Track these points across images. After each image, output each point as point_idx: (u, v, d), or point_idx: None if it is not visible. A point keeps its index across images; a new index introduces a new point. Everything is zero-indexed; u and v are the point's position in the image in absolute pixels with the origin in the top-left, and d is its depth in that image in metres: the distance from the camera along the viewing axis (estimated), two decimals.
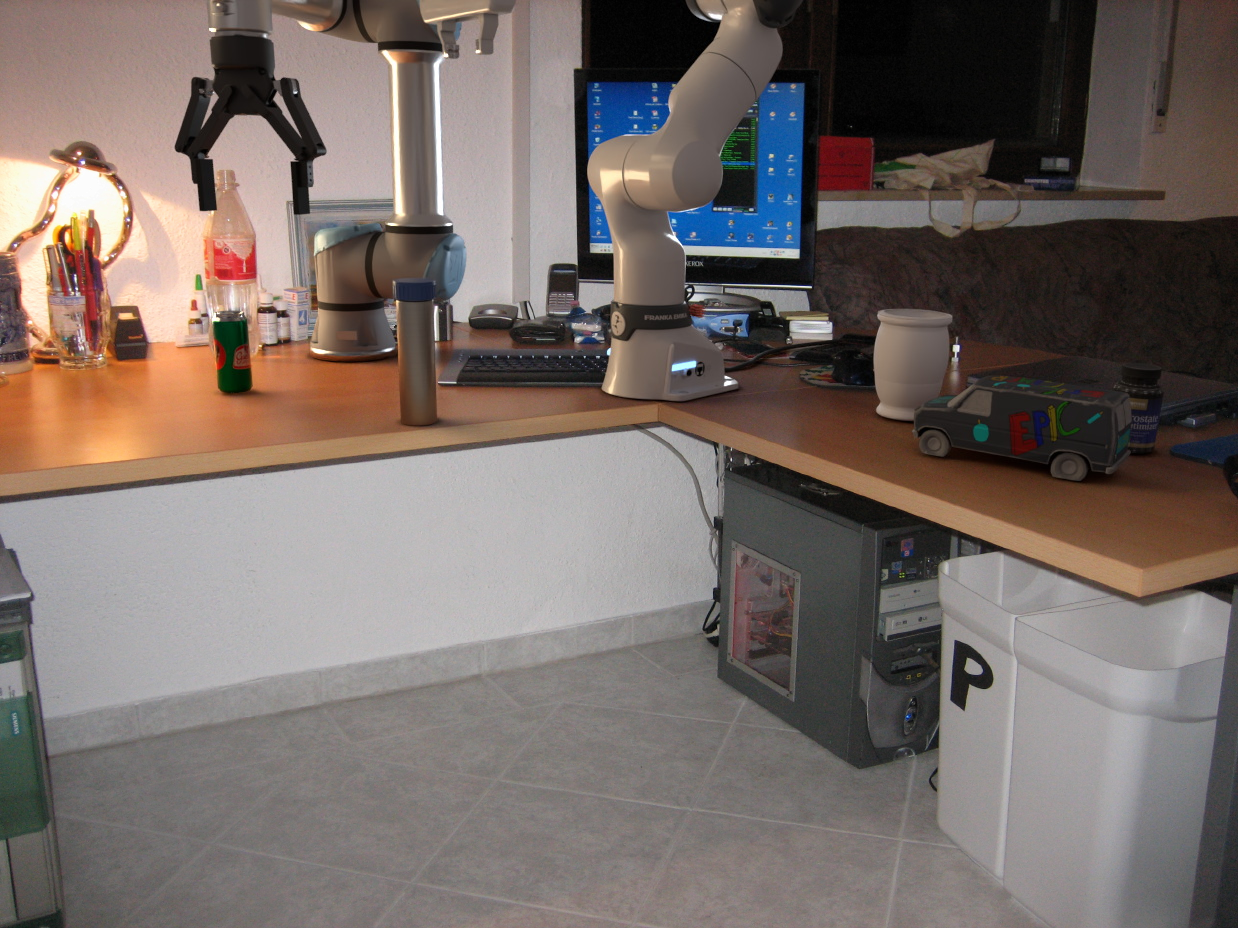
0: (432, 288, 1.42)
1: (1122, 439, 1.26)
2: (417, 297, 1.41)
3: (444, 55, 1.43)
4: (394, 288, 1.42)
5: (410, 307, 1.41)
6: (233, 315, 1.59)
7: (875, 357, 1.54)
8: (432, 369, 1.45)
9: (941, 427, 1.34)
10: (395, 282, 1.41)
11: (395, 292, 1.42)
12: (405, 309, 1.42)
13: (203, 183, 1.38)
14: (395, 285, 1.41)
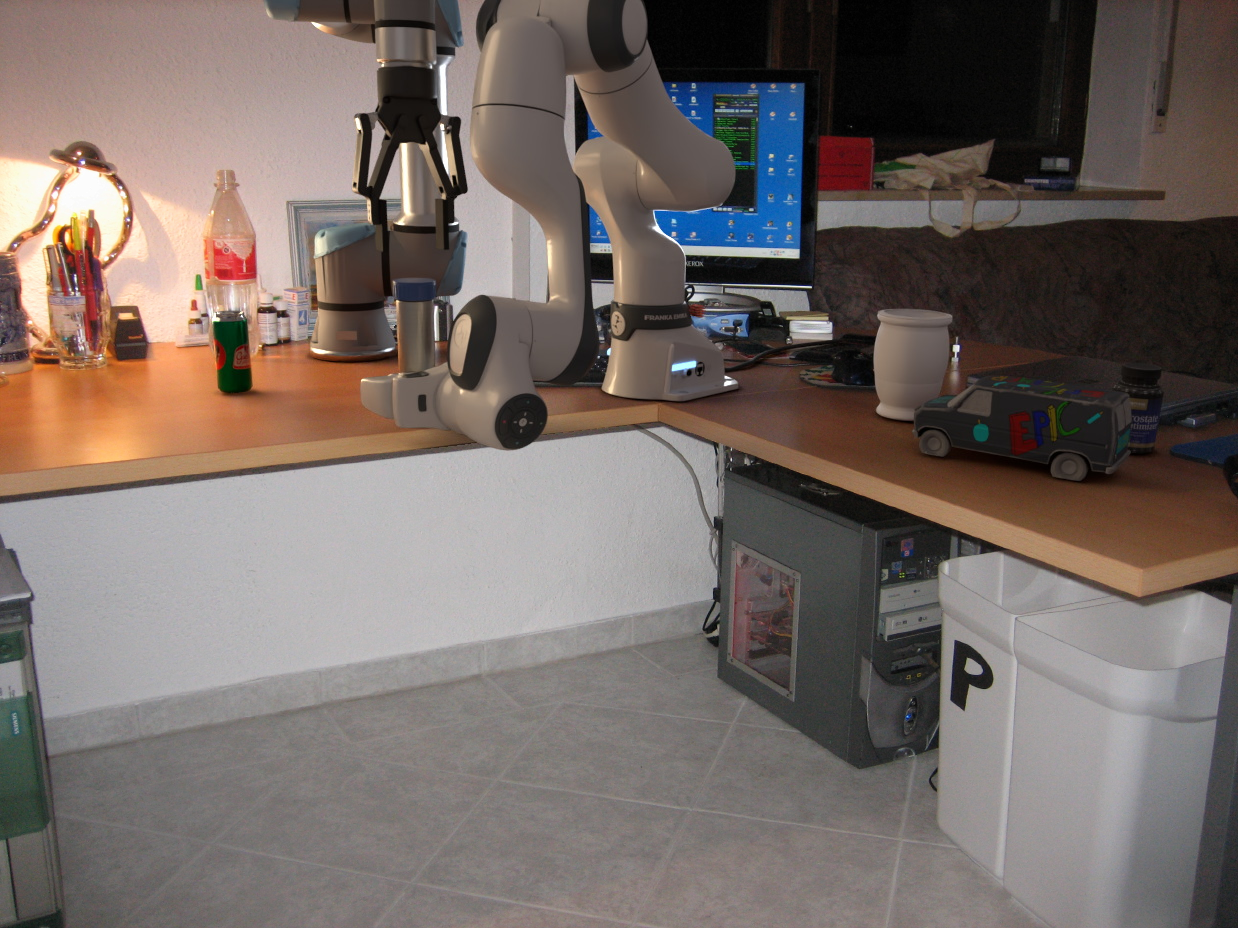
0: (432, 288, 1.42)
1: (1122, 439, 1.26)
2: (417, 297, 1.41)
3: None
4: (394, 288, 1.42)
5: (410, 307, 1.41)
6: (233, 315, 1.59)
7: (875, 357, 1.54)
8: None
9: (941, 427, 1.34)
10: (395, 282, 1.41)
11: (395, 292, 1.42)
12: (405, 309, 1.42)
13: (436, 222, 1.43)
14: (395, 285, 1.41)
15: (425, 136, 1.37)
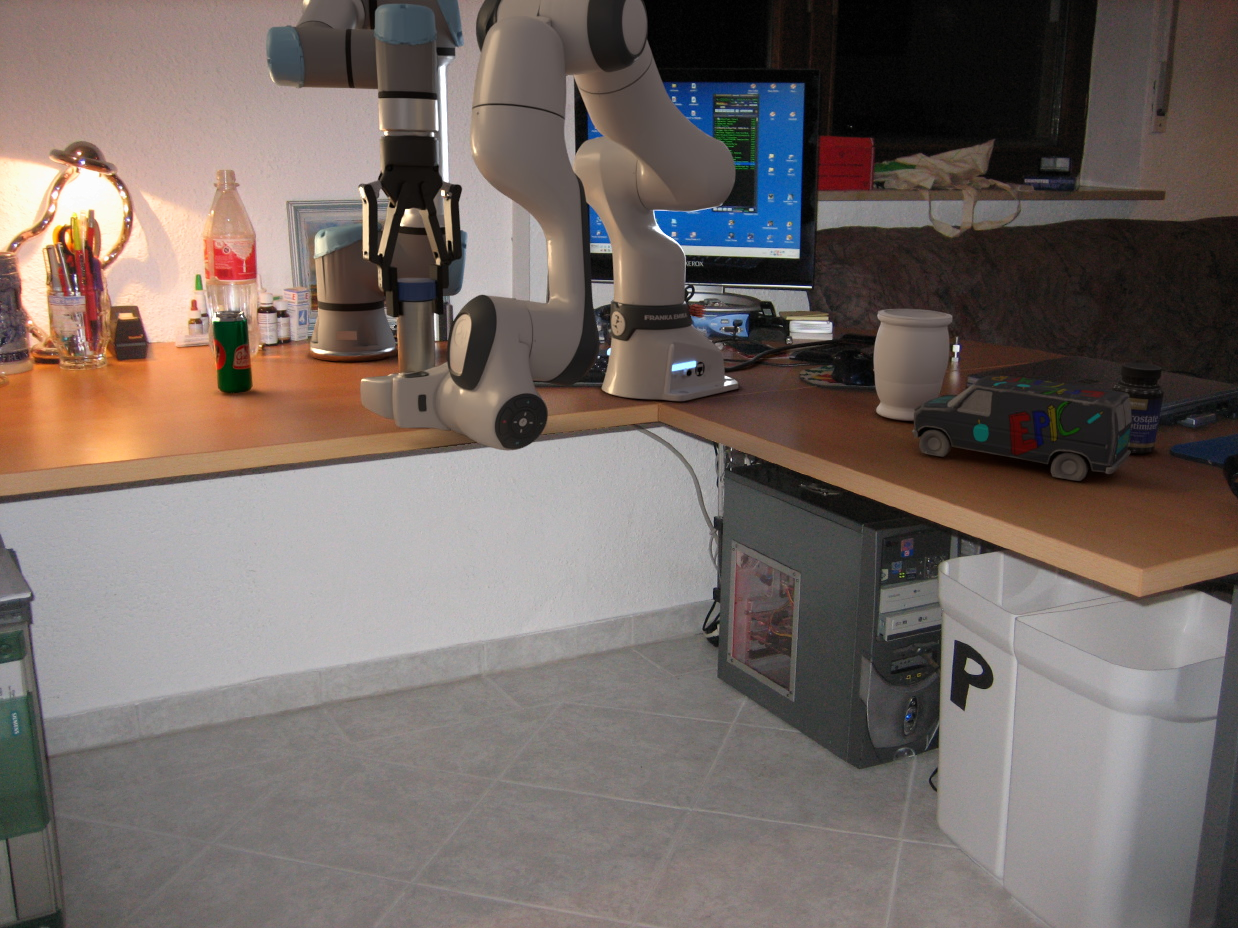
0: (432, 288, 1.42)
1: (1122, 439, 1.26)
2: (417, 297, 1.41)
3: None
4: None
5: (410, 307, 1.41)
6: (233, 315, 1.59)
7: (875, 357, 1.54)
8: None
9: (941, 427, 1.34)
10: None
11: None
12: (405, 309, 1.42)
13: None
14: None
15: (425, 202, 1.39)
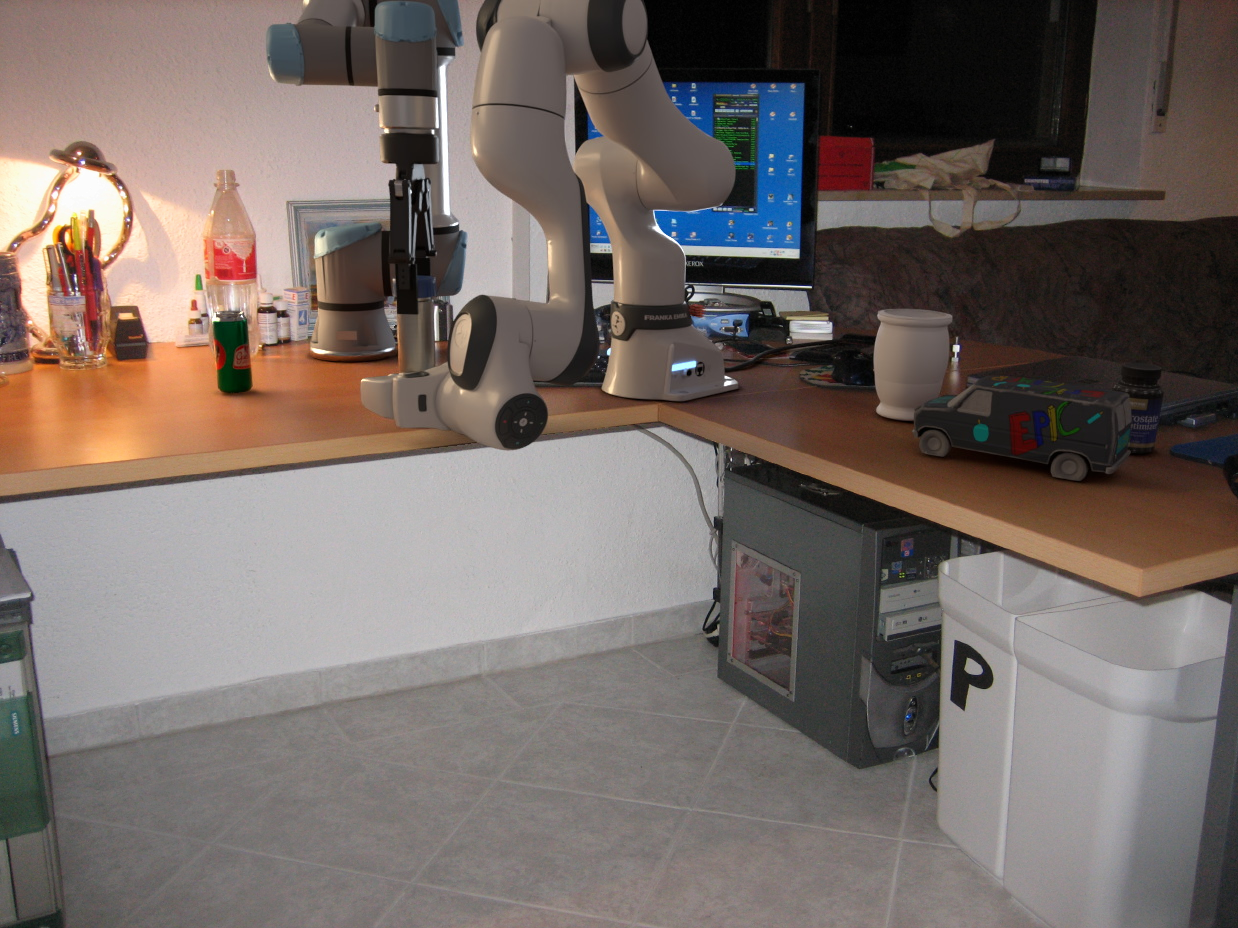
0: None
1: (1122, 439, 1.26)
2: None
3: None
4: (423, 287, 1.41)
5: None
6: (233, 315, 1.59)
7: (875, 357, 1.54)
8: None
9: (941, 427, 1.34)
10: (425, 280, 1.41)
11: (425, 290, 1.41)
12: None
13: None
14: (425, 283, 1.41)
15: (426, 199, 1.41)
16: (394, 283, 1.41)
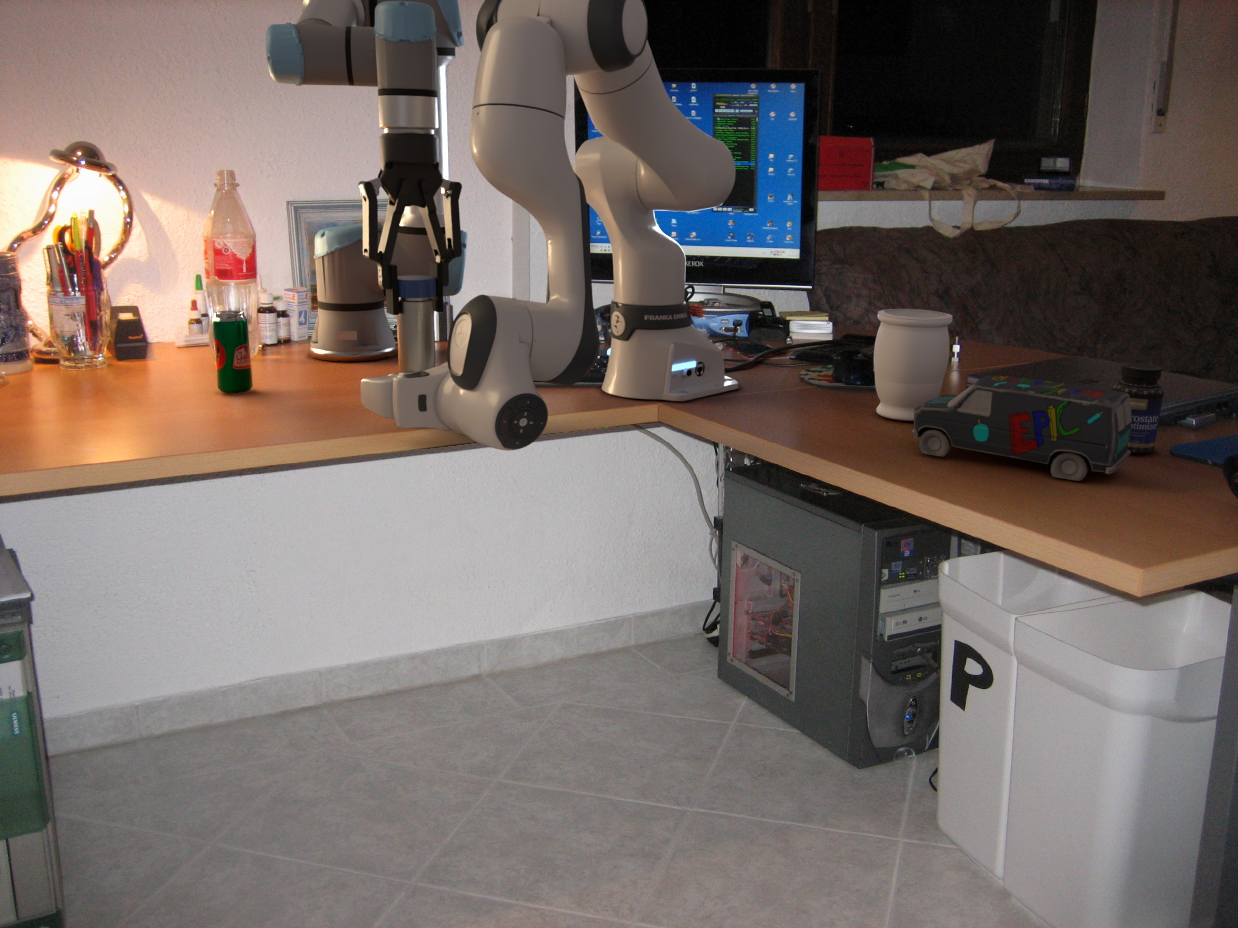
0: None
1: (1122, 439, 1.26)
2: None
3: None
4: (423, 287, 1.41)
5: (410, 307, 1.41)
6: (233, 315, 1.59)
7: (875, 357, 1.54)
8: None
9: (941, 427, 1.34)
10: (425, 280, 1.41)
11: (425, 290, 1.41)
12: (405, 309, 1.42)
13: None
14: (425, 283, 1.41)
15: (425, 200, 1.39)
16: None
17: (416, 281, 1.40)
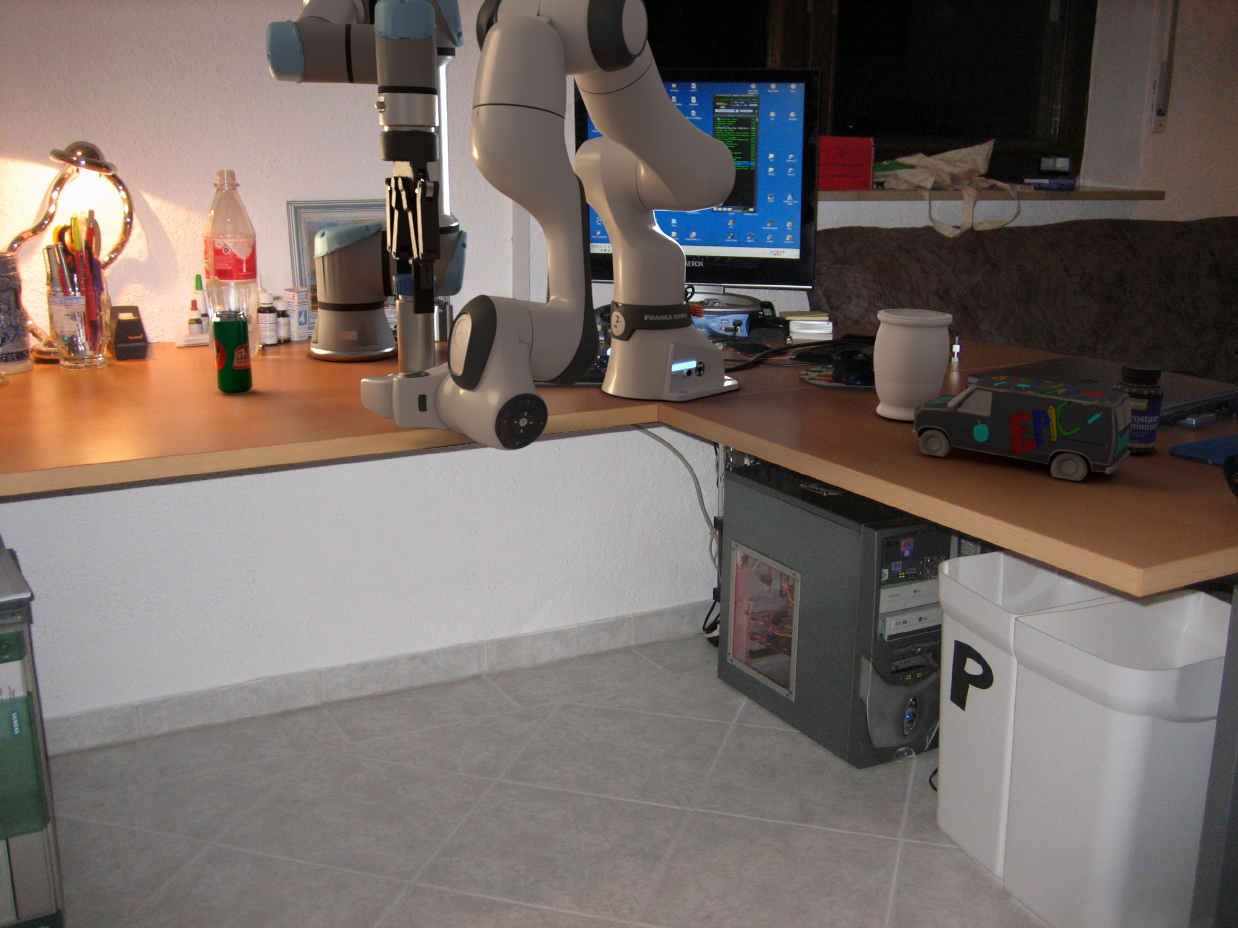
0: None
1: (1122, 439, 1.26)
2: None
3: None
4: None
5: (410, 307, 1.41)
6: (233, 315, 1.59)
7: (875, 357, 1.54)
8: None
9: (941, 427, 1.34)
10: None
11: None
12: (405, 309, 1.42)
13: None
14: None
15: None
16: None
17: (435, 276, 1.43)
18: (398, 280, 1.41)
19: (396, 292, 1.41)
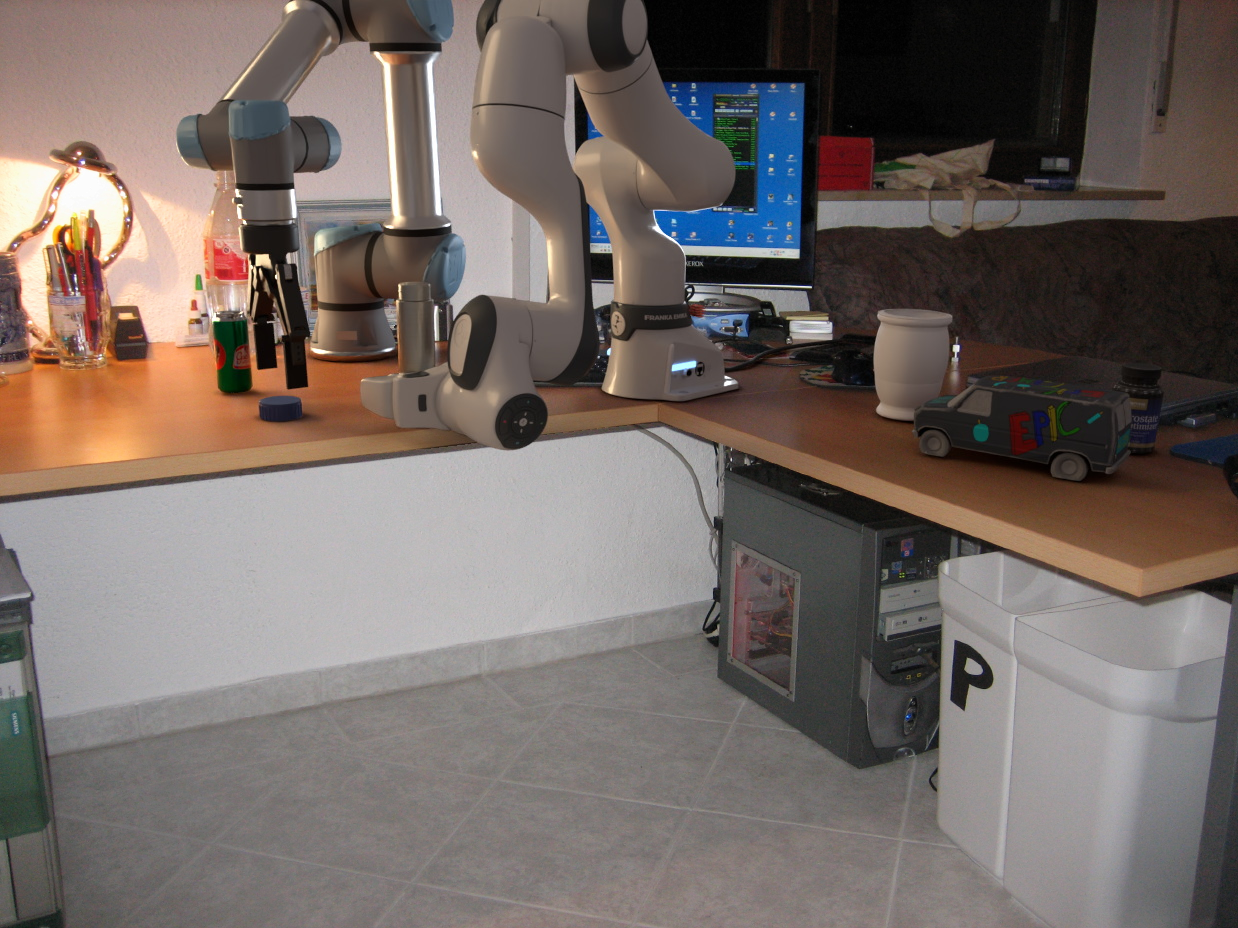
0: None
1: (1122, 439, 1.26)
2: None
3: None
4: None
5: (410, 307, 1.41)
6: (233, 315, 1.59)
7: (875, 357, 1.54)
8: None
9: (941, 427, 1.34)
10: (298, 398, 1.51)
11: None
12: (405, 309, 1.42)
13: (258, 345, 1.52)
14: None
15: None
16: (287, 408, 1.47)
17: None
18: (263, 406, 1.47)
19: (262, 417, 1.47)
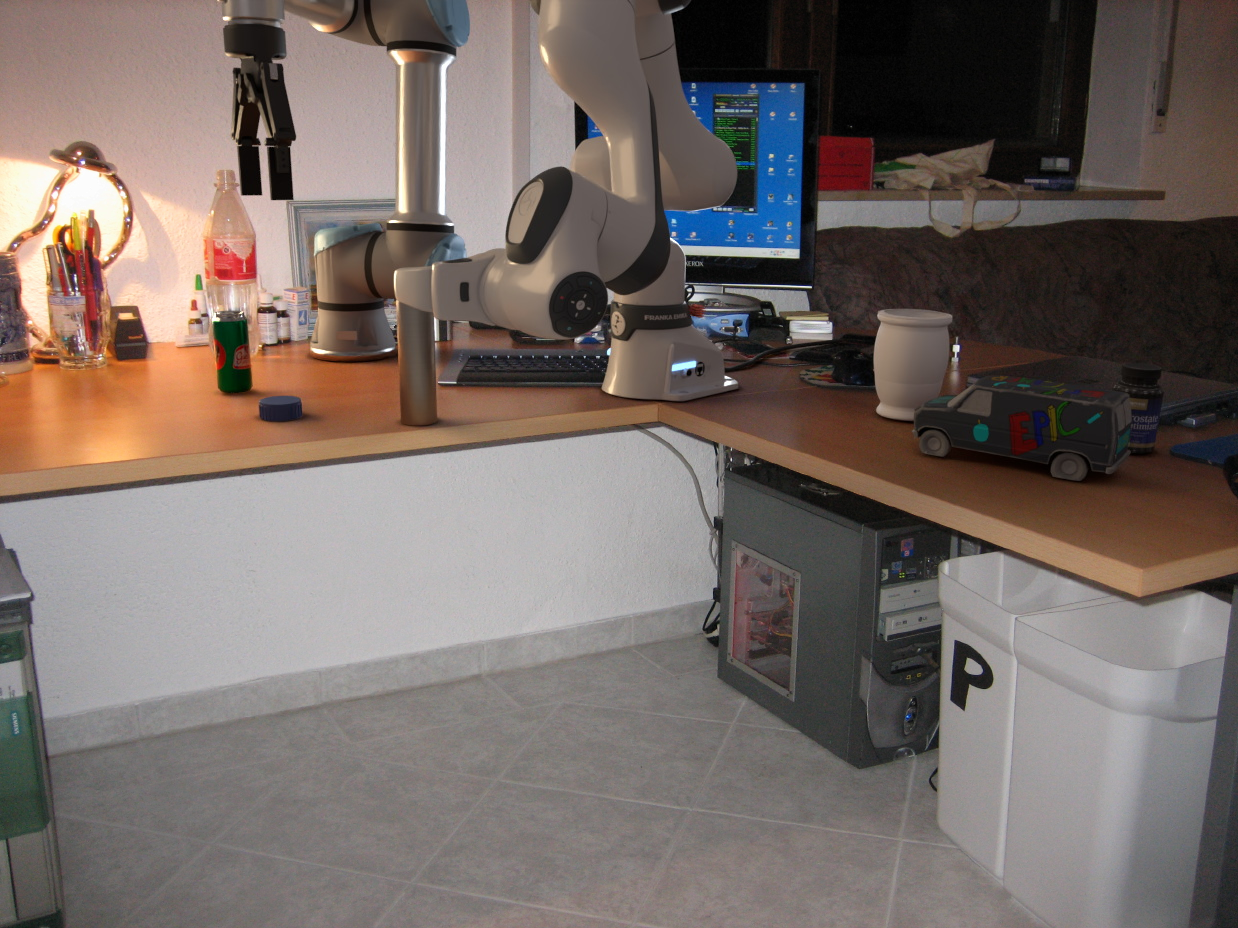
0: None
1: (1122, 439, 1.26)
2: None
3: None
4: None
5: (410, 307, 1.41)
6: (233, 315, 1.59)
7: (875, 357, 1.54)
8: (432, 369, 1.45)
9: (941, 427, 1.34)
10: (298, 398, 1.51)
11: None
12: (405, 309, 1.42)
13: (242, 169, 1.45)
14: None
15: None
16: (287, 408, 1.47)
17: None
18: (263, 406, 1.47)
19: (262, 417, 1.47)
